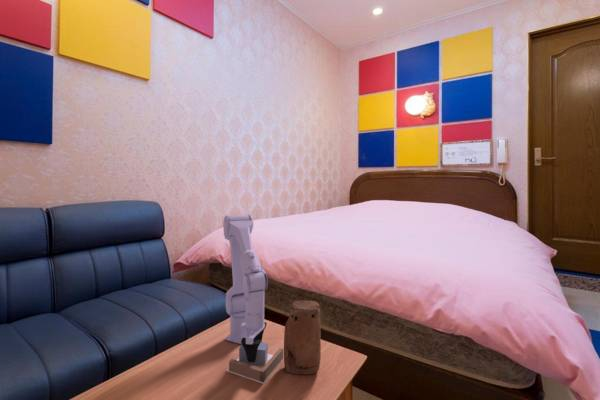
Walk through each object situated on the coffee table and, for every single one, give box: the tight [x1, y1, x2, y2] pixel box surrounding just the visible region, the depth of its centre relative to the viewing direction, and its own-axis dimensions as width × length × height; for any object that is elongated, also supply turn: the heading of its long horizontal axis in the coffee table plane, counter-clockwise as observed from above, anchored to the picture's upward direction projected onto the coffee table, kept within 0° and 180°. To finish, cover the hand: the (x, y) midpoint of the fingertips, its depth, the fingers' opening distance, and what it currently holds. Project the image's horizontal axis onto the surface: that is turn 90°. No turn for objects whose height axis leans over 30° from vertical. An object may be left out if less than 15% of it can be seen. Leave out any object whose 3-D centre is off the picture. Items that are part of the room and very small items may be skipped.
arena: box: [225, 347, 284, 385], centre depth 88 cm, size 12×13×3 cm
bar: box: [238, 342, 269, 366], centre depth 89 cm, size 8×4×5 cm, turn 87°
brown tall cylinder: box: [283, 299, 322, 375], centre depth 86 cm, size 11×8×20 cm
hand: (254, 353), depth 89 cm, fingers open, 7 cm apart
